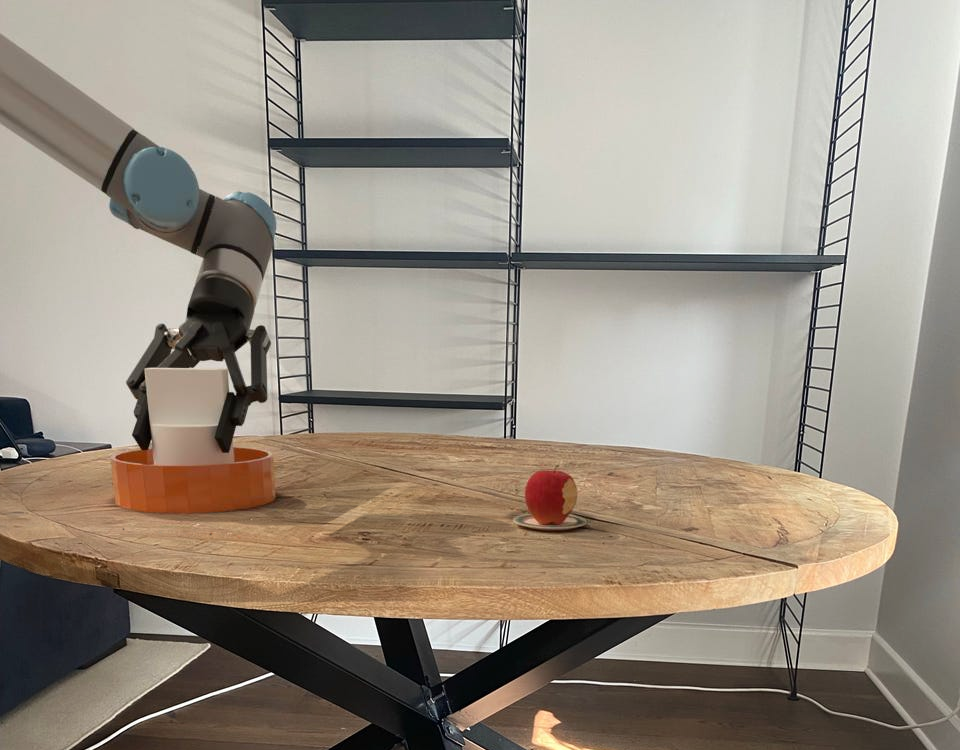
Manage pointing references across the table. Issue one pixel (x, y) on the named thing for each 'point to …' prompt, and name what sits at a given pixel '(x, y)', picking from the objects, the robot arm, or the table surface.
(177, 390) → the cylinder with rectangular tab
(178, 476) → the orange shallow round tray
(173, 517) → the table surface
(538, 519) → the apple
